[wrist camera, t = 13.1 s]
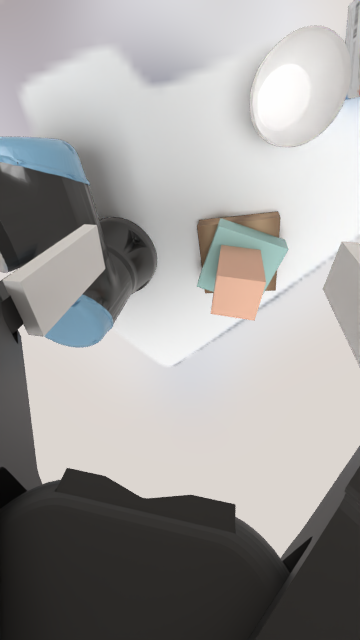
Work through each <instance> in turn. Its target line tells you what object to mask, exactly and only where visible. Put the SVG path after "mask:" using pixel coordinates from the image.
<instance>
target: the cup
mask: <svg viewBox="0 0 360 640" xmlns="http://www.w3.org/2000/svg"><path fill="white" fill-rule="evenodd" d="M350 79H351V60H350V55H349V51H348V49H347V46H346V44H345V42H344V41H343V39H342V38H341V37H340V36H339V35H338V34H337V33H336V32H335V31H333V30H331V29H329V28H327V27H323V26H307V27H303V28H300V29H298V30H296V31H293V32H292V33H290V34H288V35H287V36H286V37H284V38H283V39H282V40H281V41H280V42H279V43H278V44H277V45H276V46H275V47H274V48H273V49H272V50H271V51H270V52H269V53H268V55H267V56H266V57H265V59H264V60H263V62H262V63H261V65H260V67H259V69H258V71H257V73H256V75H255V78H254V81H253V84H252V88H251V93H250V115H251V120H252V123H253V125H254V128H255V129H256V131H257V133H258V134H259V135H260V136H261V138H262V139H264V140H265V141H266V142H268V143H270V144H272V145H275V146H279V147H295V146H299V145H302V144H305V143H307V142H309V141H311V140H313V139H314V138H316V137H317V136H319V135H320V134H321V133H322V132H323V131H324V130H325V129H326V128H327V127H328V126H329V125H330V124H331V123H332V122H333V120H334V119H335V117H336V116H337V114H338V113H339V111H340V109H341V107H342V106H343V103H344V101H345V99H346V96H347V93H348V89H349V85H350Z"/></svg>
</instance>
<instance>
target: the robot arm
mask: <svg viewBox="0 0 360 640" xmlns="http://www.w3.org/2000/svg"><path fill="white" fill-rule="evenodd" d="M89 186H90V183H89V181H88V180H87V179H86V176H85V173H84V171H83V168H82V165H81V162H80V159H79V156H78V154H77V152H76V150H75V149H74V148H73V147H72V146H71V145H70V144H68V143H67V142H65V141H62V140H58V139H51V138H37V137H0V272H3V273H6V272H9V271H13V270H15V269H17V270H16V271H14V272H13V273H12V274H10V275H8V276H7V277H6V278H4V279H3V280H1V281H0V640H360V446H359V447H358V449H357V451H356V452H355V453H354V455H353V456H352V458H351V459H350V461H349V462H348V464H347V465H346V467H345V468H344V469H343V471H342V472H341V474H340V475H339V477H338V478H337V480H336V481H335V483H334V484H333V486H332V487H331V488H330V490H329V491H328V493H327V494H326V496H325V497H324V499H323V500H322V502H321V503H320V505H319V506H318V508H317V509H316V511H315V512H314V514H313V515H312V516H311V518H310V519H309V521H308V522H307V524H306V525H305V526H304V528H303V529H302V531H301V532H300V534H299V535H298V536H297V537H296V538H295V540H294V541H293V542H292V543H291V545H290V546H289V547H288V549H287V550H286V551H285V553H284V554H283V555H282V557H281V558H279V556H278V555H277V553H276V552H275V551H274V549H273V548H272V547H271V546H270V545H269V544H268V543H267V541H266V540H265V539H264V538H263V537H262V536H261V535H260V534H259V533H257V532H256V531H255V530H254V529H253V528H251V527H250V526H249V525H248V524H246V523H245V522H243V521H242V520H240V519H238V518H236V517H235V504H231V503H226V502H222V501H217V500H212V499H208V498H203V497H199V496H194V495H184V496H172V497H161V498H149V499H146V498H142V497H139V496H138V495H136V494H134V493H133V492H131V491H129V490H128V489H126V488H124V487H122V486H121V485H119V484H118V483H116V482H114V481H112V480H111V479H109V478H107V477H106V476H102V475H97V474H93V473H88V472H83V471H79V470H74V469H70V468H67V469H66V471H65V473H64V475H63V477H62V479H61V480H57V481H53V482H48V483H45V484H42V482H41V479H40V477H39V474H38V470H37V464H36V456H35V448H34V440H33V432H32V424H31V416H30V407H29V399H28V391H27V383H26V375H25V367H24V359H23V350H22V342H21V336H20V334H19V332H18V329H19V328H20V327H21V326H22V325H23V324H24V326H25V329H26V330H27V332H28V334H29V335H35V336H44V337H46V338H48V339H50V340H52V341H54V342H56V343H59V344H62V345H66V346H70V347H88V346H91V345H94V344H96V343H98V342H99V341H100V340H101V339H102V338H103V337H104V336H105V334H106V333H107V331H109V330H110V329H111V328H112V326H113V324H114V322H115V320H116V319H117V317H118V315H119V314H120V312H121V310H122V309H123V307H124V305H125V303H126V302H127V300H128V298H129V297H130V295H131V294H133V293H135V292H136V291H138V290H140V289H142V288H143V287H145V286H146V285H147V284H148V283H149V281H150V280H151V278H152V276H153V275H154V273H155V270H156V266H157V256H156V251H155V248H154V245H153V243H152V241H151V240H150V238H149V237H148V235H147V234H146V233H145V232H144V231H143V230H142V229H141V228H140V227H138V226H137V225H136V224H134V223H132V222H130V221H128V220H125V219H122V218H116V217H110V218H104V219H101V220H99V218H98V215H97V211H96V208H95V205H94V201H93V198H92V194H91V191H90V187H89ZM18 268H19V269H18ZM323 291H324V293H325V295H326V297H327V299H328V301H329V303H330V305H331V307H332V310H333V312H334V314H335V316H336V318H337V320H338V322H339V324H340V326H341V328H342V331H343V333H344V335H345V337H346V339H347V341H348V343H349V346H350V347H351V350H352V352H353V354H354V356H355V358H356V360H357V362H358V365H359V367H360V244H359V243H353V242H341V245H340V247H339V250H338V252H337V255H336V257H335V260H334V262H333V265H332V267H331V270H330V272H329V275H328V277H327V280H326V282H325V285H324V287H323Z"/></svg>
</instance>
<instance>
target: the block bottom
mask: <svg viewBox="0 0 360 640" xmlns="http://www.w3.org/2000/svg"><path fill="white" fill-rule="evenodd" d="M222 219H225V220H228V221H231V222H234V223H237V224H240V225H243V226H246V227H249V228H251V229H254V230H257V231H260V232H263V233H266V234H269V235H272V236H275V237H278V238H279V230H280V215H279V213H278V212H269V213H260V214H251V215H242V216H233V217H224V218H222ZM219 220H220V218H215V219H206V220H199V223H198V225H197V229H198V238H199V246H200V255H201V263H202V268H203V265H204V262H205V260H206V257H207V254H208V251H209V248H210V246H211V243H212V240H213V237H214V234H215V232H216V229H217V226H218V223H219ZM276 275H277V270H276V272H275V274H274V276H273V277H272V279H271V281H270V283H269V284H268V286H267V288H266V290H265V291H271V290H276ZM205 293H214V292H212V291H209V290H206V289H205Z"/></svg>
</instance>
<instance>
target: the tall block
mask: <svg viewBox="0 0 360 640" xmlns="http://www.w3.org/2000/svg"><path fill="white" fill-rule="evenodd" d="M265 285H266V278H265V272H264V267H263V261H262V256H261V250H258V249H250V248H242V247H234V246H227V245H221V249H220V255H219V261H218V267H217V273H216V279H215V286H214V293H213V301H212V308H211V314H216V315H222V316H229V317H235V318H242V319H248V320H255V317H256V314H257V310H258V307H259V304H260V301H261V298H262V294H263V291H264V288H265Z"/></svg>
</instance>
